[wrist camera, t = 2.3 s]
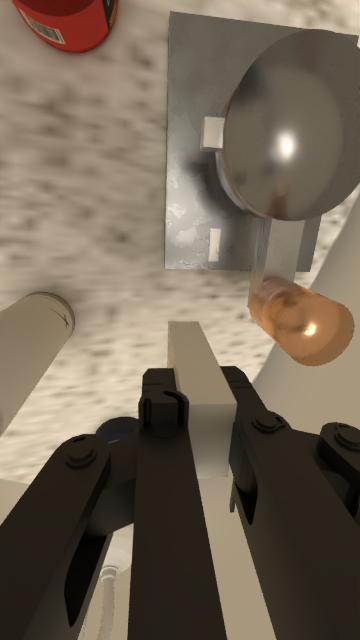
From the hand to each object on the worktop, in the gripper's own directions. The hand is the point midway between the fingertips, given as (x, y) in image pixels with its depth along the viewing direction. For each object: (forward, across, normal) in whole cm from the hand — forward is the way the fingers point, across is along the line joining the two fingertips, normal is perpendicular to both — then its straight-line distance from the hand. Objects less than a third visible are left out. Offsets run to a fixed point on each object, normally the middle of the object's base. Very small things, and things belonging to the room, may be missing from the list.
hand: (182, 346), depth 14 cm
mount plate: (+17, +8, +12) cm, 22 cm away
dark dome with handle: (+9, +8, +7) cm, 14 cm away
